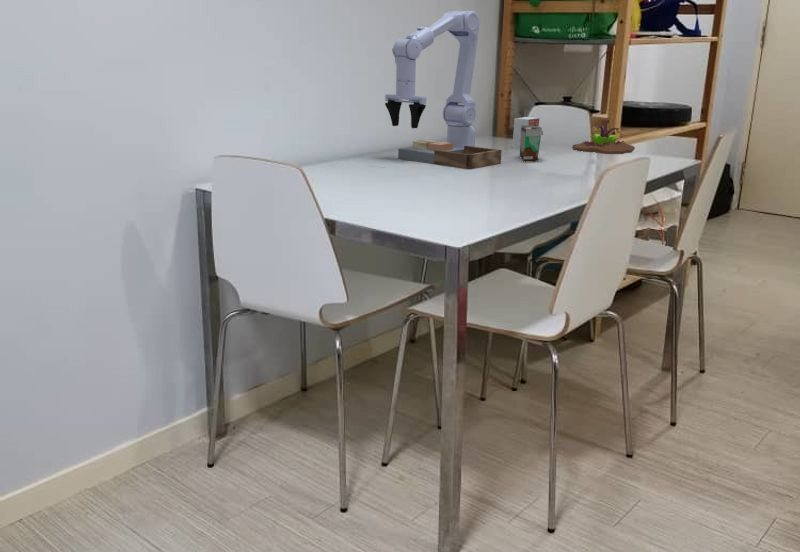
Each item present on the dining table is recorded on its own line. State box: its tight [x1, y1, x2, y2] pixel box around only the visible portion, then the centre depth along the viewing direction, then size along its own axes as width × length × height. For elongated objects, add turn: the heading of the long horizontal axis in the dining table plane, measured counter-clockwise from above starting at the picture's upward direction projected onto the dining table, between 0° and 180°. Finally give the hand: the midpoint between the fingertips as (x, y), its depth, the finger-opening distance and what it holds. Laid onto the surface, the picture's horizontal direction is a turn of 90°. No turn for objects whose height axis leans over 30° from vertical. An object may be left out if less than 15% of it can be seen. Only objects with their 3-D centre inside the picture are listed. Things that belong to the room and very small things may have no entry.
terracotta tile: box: [428, 141, 453, 151], centre depth 242 cm, size 6×5×2 cm
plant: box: [572, 118, 636, 155], centre depth 267 cm, size 20×20×11 cm
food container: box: [519, 125, 544, 163], centre depth 246 cm, size 12×6×10 cm, turn 179°
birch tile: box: [412, 139, 439, 149], centre depth 246 cm, size 6×5×2 cm
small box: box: [512, 116, 540, 149], centre depth 270 cm, size 8×6×10 cm
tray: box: [433, 146, 502, 170], centre depth 236 cm, size 16×13×4 cm
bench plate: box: [397, 146, 464, 165], centre depth 245 cm, size 16×14×3 cm
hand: (404, 127), depth 240 cm, fingers open, 7 cm apart
